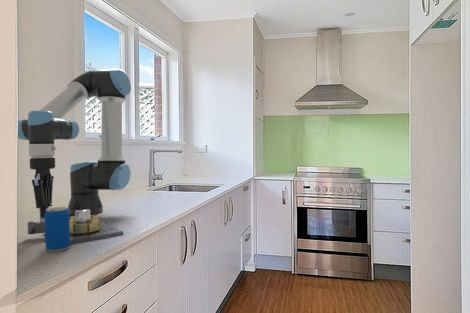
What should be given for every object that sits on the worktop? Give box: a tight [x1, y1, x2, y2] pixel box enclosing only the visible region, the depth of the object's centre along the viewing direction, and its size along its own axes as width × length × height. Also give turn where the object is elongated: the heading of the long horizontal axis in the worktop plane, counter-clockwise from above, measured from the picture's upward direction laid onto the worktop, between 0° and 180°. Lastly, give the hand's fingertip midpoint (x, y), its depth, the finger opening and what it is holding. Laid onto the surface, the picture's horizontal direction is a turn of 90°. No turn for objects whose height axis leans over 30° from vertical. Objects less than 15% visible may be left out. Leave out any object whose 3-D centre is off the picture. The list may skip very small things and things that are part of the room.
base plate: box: [70, 209, 124, 245], centre depth 120 cm, size 20×20×8 cm
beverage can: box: [44, 206, 71, 253], centre depth 103 cm, size 6×6×12 cm
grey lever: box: [27, 214, 102, 235], centre depth 119 cm, size 22×11×4 cm, turn 107°
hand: (45, 226), depth 119 cm, fingers closed
